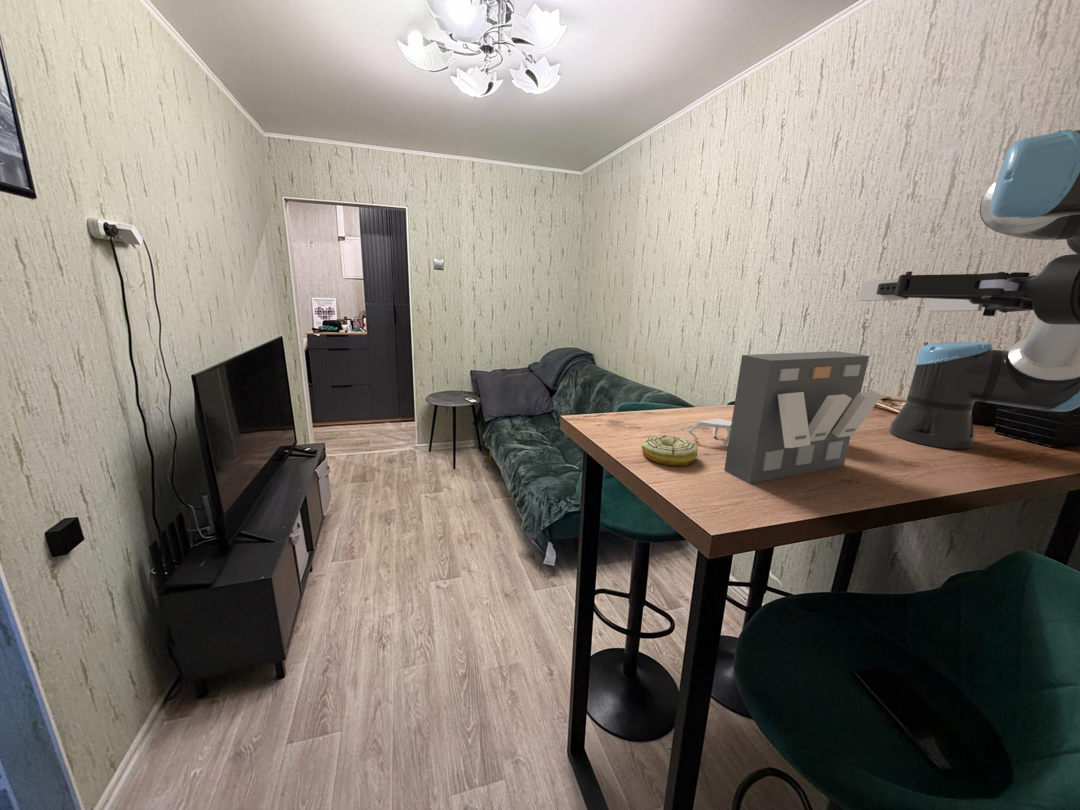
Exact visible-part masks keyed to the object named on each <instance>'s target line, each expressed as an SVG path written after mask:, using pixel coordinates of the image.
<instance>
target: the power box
mask: <svg viewBox="0 0 1080 810" xmlns="http://www.w3.org/2000/svg"><path fill="white" fill-rule="evenodd" d="M869 359H870V355H866V354H865V355H864V354H857V353H853V352H852V353H851V352H845V351H838V350H835V351H811V352H786V353H785V352H784V353H780V352H779V353H760V354H759V353H757V354H742V355H741V360H740V367H739V372H738V378H737V379H738V381H737V386H736V393H735V398H734V405H733V410H732V416H731V417H732V419H731V421H732V424H731V428H730V437H729V440H728V442H727V443H728V444H727V448H726V449H727V450H726V456H725V463H724V472H727V473H729V475H733V476H734V477H736V478H739V479H740V480H742V481H744V482H746V483H747V484H754V483H760V482H766V481H770V480H775V479H781V478H787V477H792V476H797V475H798V476H799V475H802V474H808V473H812V472H813V473H814V472H818V471H824V470H830V469H835V468H839V467H844V466H845V461H846V457H847V454H848V448H849V446H850V445H849V444H850V440H851V437H852V436H845V437H836V436H835V435H833V434H832V431H833V430H834V428H835V427H836V425H837V424H838V422H839V421H840V419H841V418H842V416H843V415H844V413H845V412H846V411H847V409H848V408H849V406H850V405H851V403H852V402H853V400H854V399H855V397H856V396H857V394H858V393H862V389H863V385H864V384H863V383H864V382H865V381H864V380H865V376H866V371H867V368H868V364H869ZM797 392H804V399H805V406H806V413H807V421H808V426H809V424H810V423H811V421H812V420H813V418H814V416H815V415H816V413H817V412H818V410H819V409H820V407H821V405H822V404H823V402H824V401H825V399H826V397H827V396H830V395H841V394H845V395H847V396H849V397H850V398H852V399H851V401H850V402H849V404H848V405H847V407H846V408H845V410H844V411H843V413H842V414H841V416H840V417H839V419H838V420H837V422H836V423H835V425H834V426H833V428H832V429H831V431H830V432H829V434H828V435H827V437H826V438H825V440H818V441H812V442H810V443H811V445H808V446H801V447H795V448H785V447H784V439H783V432H782V424H781V417H780V409H779V402H778V394H786V393H797Z"/></svg>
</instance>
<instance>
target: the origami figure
mask: <svg viewBox="0 0 1080 810" xmlns="http://www.w3.org/2000/svg"><path fill="white" fill-rule="evenodd" d="M731 424H732V420H728V419H727V420H726V419H724V418H717V417H716V418H712V419H705V420H697V421H696V423H695V424H694V425H692V426H691V427H690V428H688V429H687V432H688V433H689V435H691V436H693V438H694V439H693V440H692V441H693V442H696V441H698V440H699V438H698V437H697V436H696V435H695V434H694V433H693V432H692V431H693V430H694V429H697V428H698V427H700V426H704V427H710V428H713V435H712V437H713V438H717V434H718V431H719V428H720V429H726V432H727V433H726V434H727V436H726V437H725V440H724V441H723V447H727V448H728V444H727V443H729V437H730V430H731Z"/></svg>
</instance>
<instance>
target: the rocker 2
mask: <svg viewBox="0 0 1080 810" xmlns="http://www.w3.org/2000/svg"><path fill="white" fill-rule="evenodd" d="M881 397H882V394H880V393H878V392H877V391H875V390H874V391H865V392H862V391H861V393H858V394H857V396H856V397H855V399H854V400H853V402H852V403H851V405H850V406H849V408H848V409H847V411H846V412H845V413H844V415H843V416H842V418H841V419H840V421H839V422H838V424H837V425H836V427H835V428H834V430H833V431H832V434H833V435H835V436H836V437H845V436H851V437H852V436H854V435H855V434H856V432H857V431H858V429H859V428H860V427H861V425H862V424H863V422H864V421H865V419H866V418H867V417H868V416H869V414H870V413H871V411H872V410H873V409H874V408H875V406H876V404H877V403H878V401H879V400H880V399H881Z"/></svg>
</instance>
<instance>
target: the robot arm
mask: <svg viewBox="0 0 1080 810" xmlns="http://www.w3.org/2000/svg"><path fill="white" fill-rule="evenodd" d="M979 216H980V219H981V221H982V222H983V224H984V225H985V226H986V227H988V229H990V230H992V231H994V232H996V233H999V234H1001V235H1006V236H1009V237H1013V238H1014V237H1015V238H1020V239H1026V240H1036V241H1037V240H1040V241H1051V240H1059V241H1060V240H1063V241H1064V240H1065V245H1066V247H1067V249H1068V250H1069V251H1070V252H1071V253H1072V254H1064V255H1060V256H1058V257H1056V258H1054V259H1053V260H1051V261H1049V262H1048V263H1047V264H1046V265H1045V266H1044V268H1042V269H1041V271H1040V272H1039V273H1038V274H1036V275H1035V274H1033V275H1031V274H1030V273H1031V272H1026V271H1021V272H1020V271H1019V272H1018V271H1017V272H1015V271H1014V272H1011V273H1009V272H1005V271H998V272H989V273H960V274H959V273H957V274H956V273H955V274H953V273H951V274H913V271H906V272H905V274H900V275H898V278H892V279H891V278H890V279H889V278H888V279H882V280H881V279H880V280H879V279H878V280H868V281H862V283H861V287H860V290H859V294H858V301H859V302H874V301H897V300H899V301H900V300H901V301H902V300H905V301H907V300H909V298H910V299H911V298H912V299H913V298H914V299H929V303H928V306H927V312H981V311H983V313H982V316H983V317H995V314H996V311H998V312H1001V313H1003V314H1004V313H1005V314H1007V313H1013V312H1026V311H1033V313H1034V314H1035V317H1036V318H1037V319H1036V321H1035V323H1034V325H1033V326H1032V328H1031V330H1030V332H1029V334H1028V335H1027V337H1026V338H1023V339H1021V340H1019V341H1017V342H1016V343H1014V344H1013V345H1012V346H1011V347H1010V349H1009V350H1002V349H1001V350H999V349H993V343H990V342H985V341H949V342H947V341H945V342H935V343H934V342H933V343H928V344H926V345H924V346H923V347H922V348H921V349H920V351H919V354H918V357H917V361H915V363H914V364H915V368H914V372H913V376H912V379H911V383H910V385H909V386H910V387H909V389H908V394H907V397H906V402H905V403H904V405H903V406H902V407H901V410H899V412H898V413H897V414H896V416H895V418H894V419H893V420H892V422H891V423H890V425H889V426H890V427H889V430H888V431H889V433H890V434H891V435H893V436H895V437H898V438H899V439H902V440H904V441H905V440H906V441H908V442H912V443H915V444H916V443H917V444H920V445H924V446H925V445H926V446H930V447H934V448H940V449H941V448H942V449H950V450H952V449H953V450H968V449H971V448H972V447H973V444H974V441H975V437H976V436H975V434H974V433H975V431H974V424H973V423H974V422H973V416H972V412H973V408H974V405H975V402H981V403H982V402H983V403H986V404H987V403H988V404H995V405H1002V406H1003V405H1004V406H1009V407H1014V408H1015V407H1016V408H1023V409H1029V410H1037V411H1040V412H1050V411H1051V412H1059V413H1060V412H1061V413H1064V412H1065V413H1066V412H1070V411H1074V410H1075V409H1077V408H1080V129H1078V130H1077V129H1076V130H1072V129H1064V130H1058V131H1054V132H1051V133H1048V134H1043V135H1035V136H1031V137H1030V136H1029V137H1024V138H1022V139H1021V138H1020V139H1019V140H1017V141H1015V143H1013V144H1012V145H1011V146H1010V147H1009V148H1008V150H1007V151H1006V154H1005V157H1004V159H1003V160H1002V163H1001V166H1000V169H999V172H998V176H997V179H996V180H995V181H994V182H993V183H992V184H991V185H990V187H988V189H986V191H985V193H984V195H983V196H982V198H981V201H980V205H979ZM983 308H984V309H983ZM982 309H983V310H982Z"/></svg>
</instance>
